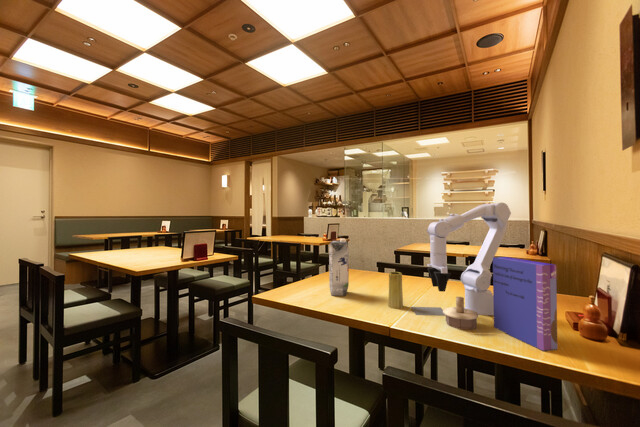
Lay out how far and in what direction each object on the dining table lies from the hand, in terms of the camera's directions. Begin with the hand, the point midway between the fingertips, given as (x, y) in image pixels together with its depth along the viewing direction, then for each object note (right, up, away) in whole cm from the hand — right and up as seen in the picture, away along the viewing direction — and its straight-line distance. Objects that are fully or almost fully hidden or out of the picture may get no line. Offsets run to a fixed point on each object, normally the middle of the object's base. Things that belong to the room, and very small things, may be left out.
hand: (438, 288), depth 112 cm
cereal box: (+17, -10, -22) cm, 29 cm away
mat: (-3, -10, +3) cm, 11 cm away
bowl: (+3, -10, -11) cm, 15 cm away
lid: (+3, -6, -11) cm, 13 cm away
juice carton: (-36, -11, +32) cm, 49 cm away
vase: (-14, -10, +9) cm, 20 cm away
